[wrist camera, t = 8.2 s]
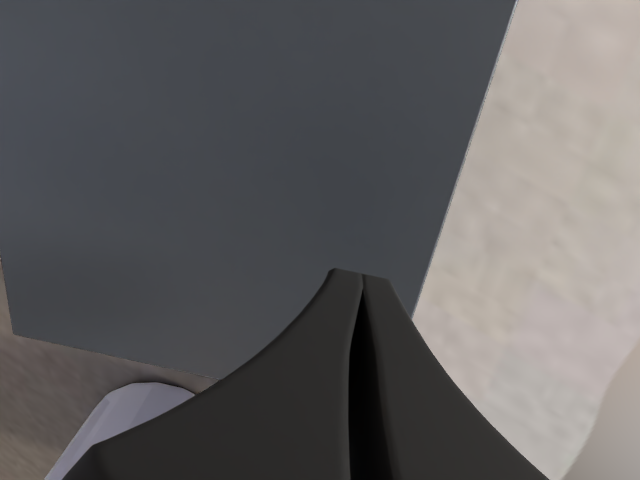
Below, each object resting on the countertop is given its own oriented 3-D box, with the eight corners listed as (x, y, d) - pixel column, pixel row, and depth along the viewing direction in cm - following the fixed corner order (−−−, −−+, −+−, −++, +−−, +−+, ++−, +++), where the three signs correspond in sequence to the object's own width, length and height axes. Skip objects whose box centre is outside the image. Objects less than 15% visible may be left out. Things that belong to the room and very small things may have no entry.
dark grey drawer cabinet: (138, -136, 16) (-87, -268, 8) (475, -70, 16) (566, -143, 8) (139, 221, 22) (12, 335, 14) (380, 272, 22) (380, 415, 14)
